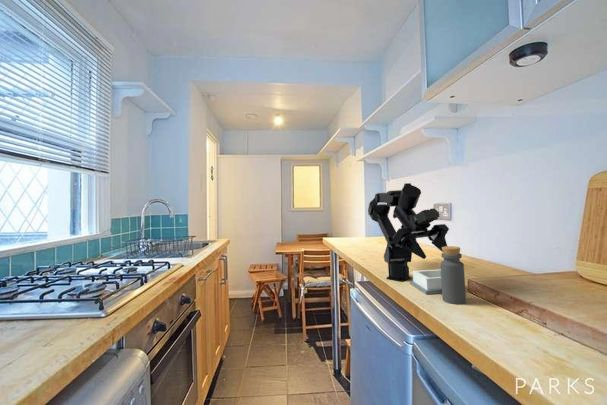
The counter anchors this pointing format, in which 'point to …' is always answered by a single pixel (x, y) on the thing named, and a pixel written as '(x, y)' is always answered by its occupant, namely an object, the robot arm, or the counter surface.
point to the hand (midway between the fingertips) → (437, 256)
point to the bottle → (452, 276)
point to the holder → (428, 281)
